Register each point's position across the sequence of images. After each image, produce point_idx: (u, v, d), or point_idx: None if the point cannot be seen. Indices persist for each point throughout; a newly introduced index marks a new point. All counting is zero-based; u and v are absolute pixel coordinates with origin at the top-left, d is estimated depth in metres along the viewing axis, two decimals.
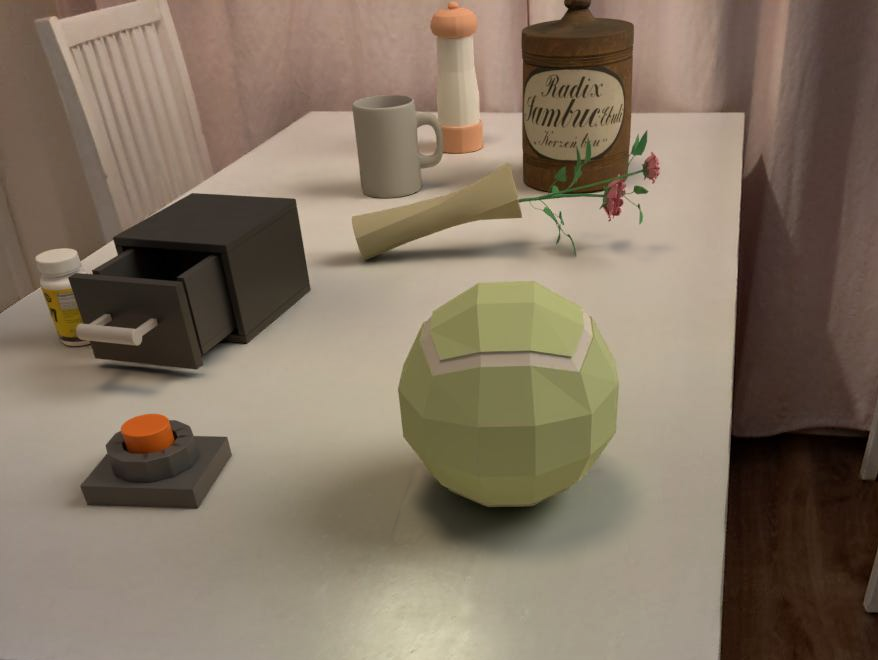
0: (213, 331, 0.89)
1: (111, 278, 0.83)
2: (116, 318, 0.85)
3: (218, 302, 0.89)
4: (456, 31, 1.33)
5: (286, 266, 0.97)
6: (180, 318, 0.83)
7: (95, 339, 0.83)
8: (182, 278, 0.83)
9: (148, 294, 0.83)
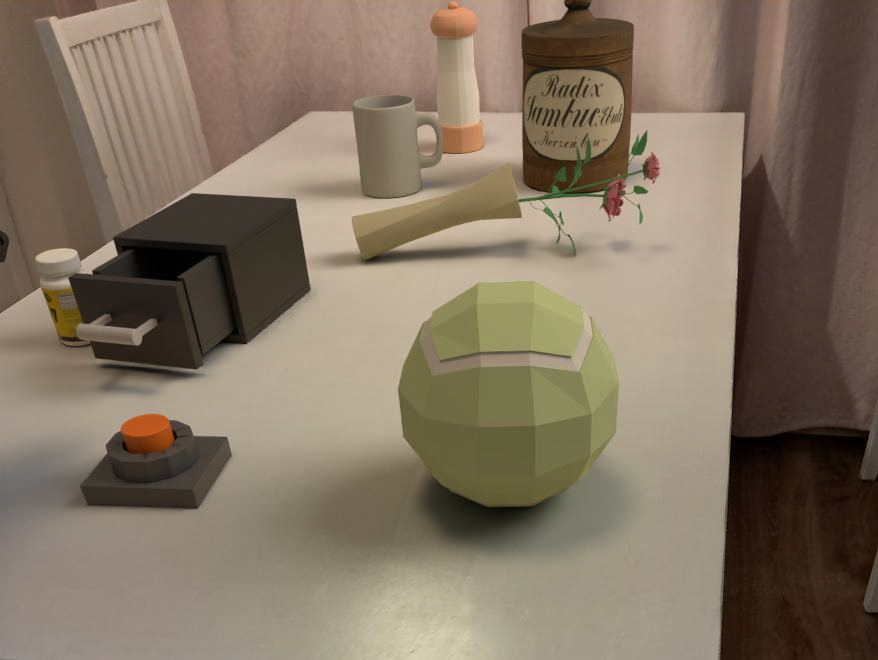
0: (213, 331, 0.89)
1: (111, 278, 0.83)
2: (116, 318, 0.85)
3: (218, 302, 0.89)
4: (456, 31, 1.33)
5: (286, 266, 0.97)
6: (180, 318, 0.83)
7: (95, 339, 0.83)
8: (182, 278, 0.83)
9: (148, 294, 0.83)
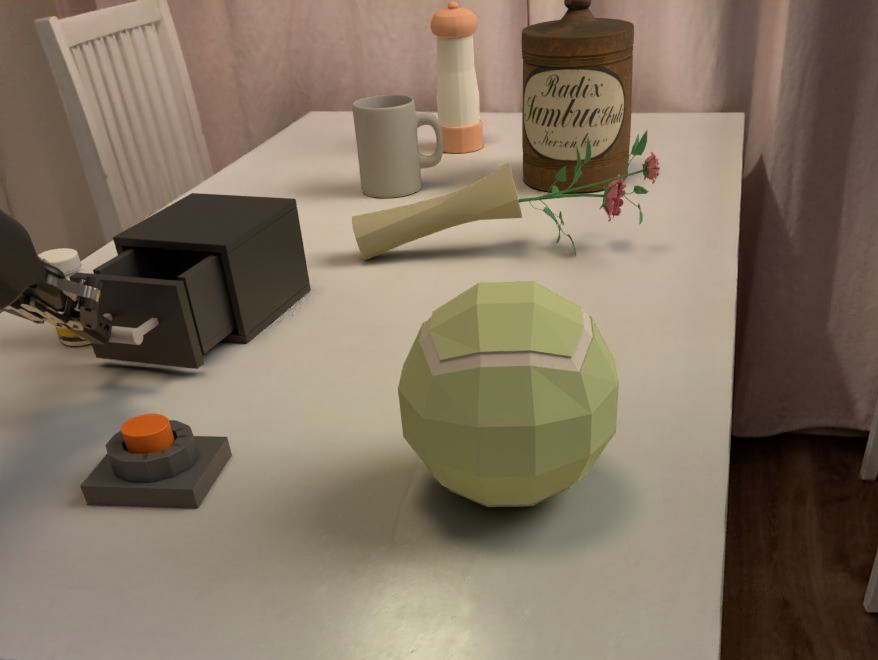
0: (214, 330, 0.89)
1: (112, 278, 0.84)
2: (117, 317, 0.86)
3: (219, 301, 0.89)
4: (456, 31, 1.33)
5: (286, 266, 0.97)
6: (181, 317, 0.83)
7: None
8: (183, 277, 0.83)
9: (149, 293, 0.83)
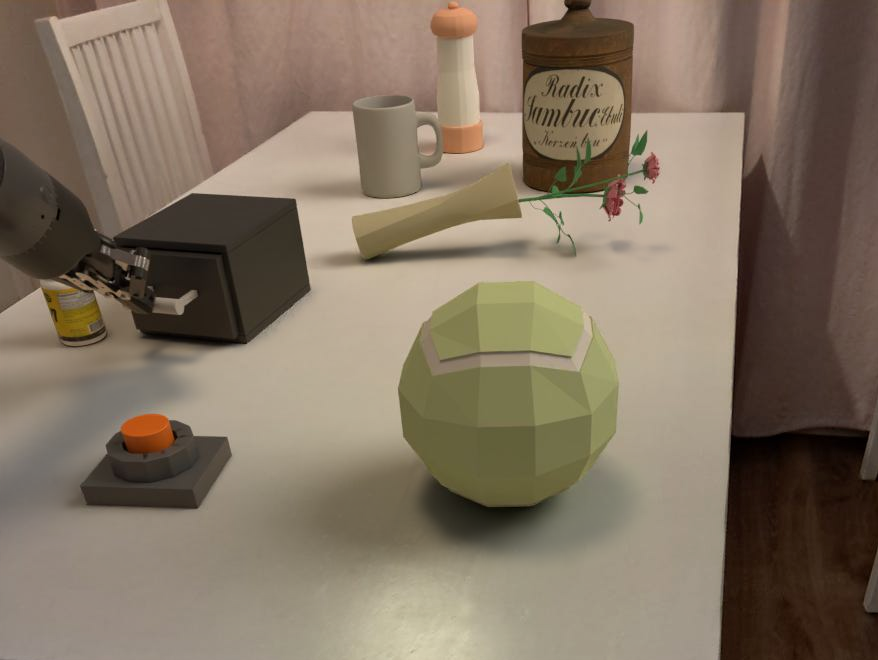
0: None
1: (154, 252, 0.88)
2: (158, 290, 0.90)
3: None
4: (456, 31, 1.33)
5: (286, 266, 0.97)
6: (219, 289, 0.88)
7: None
8: None
9: (190, 266, 0.88)
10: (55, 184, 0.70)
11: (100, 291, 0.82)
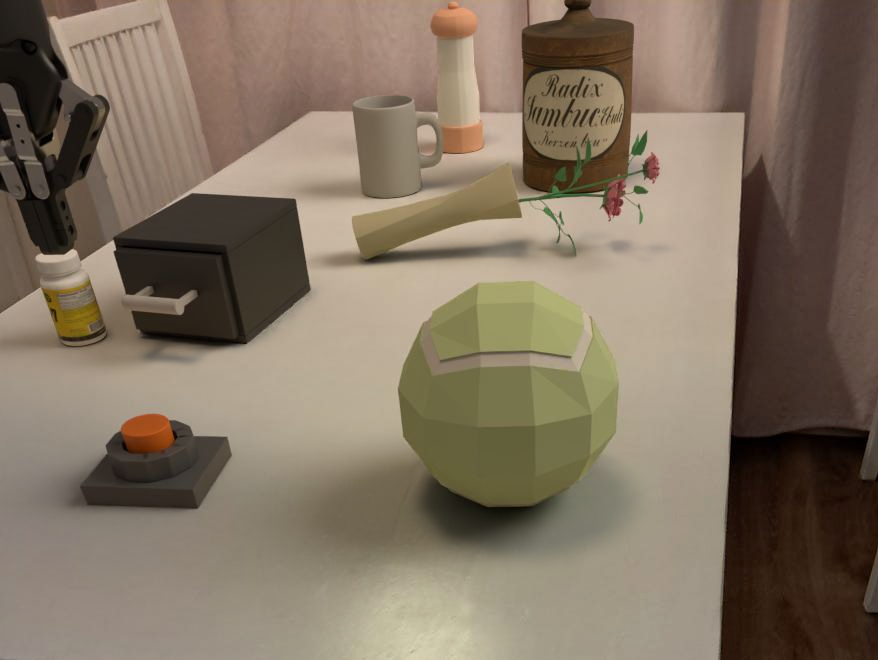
0: None
1: (154, 252, 0.88)
2: (158, 290, 0.90)
3: None
4: (456, 31, 1.33)
5: (286, 266, 0.97)
6: (219, 289, 0.88)
7: (139, 309, 0.88)
8: None
9: (190, 266, 0.88)
10: None
11: (10, 177, 0.61)
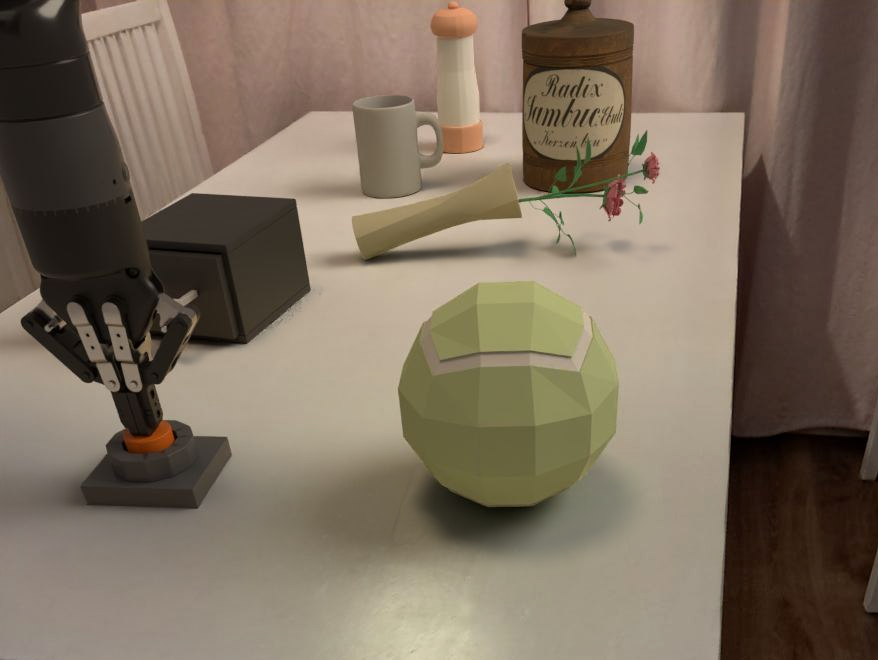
0: None
1: (154, 252, 0.88)
2: None
3: None
4: (456, 31, 1.33)
5: (286, 266, 0.97)
6: (219, 289, 0.88)
7: None
8: None
9: (190, 266, 0.88)
10: None
11: (106, 374, 0.66)
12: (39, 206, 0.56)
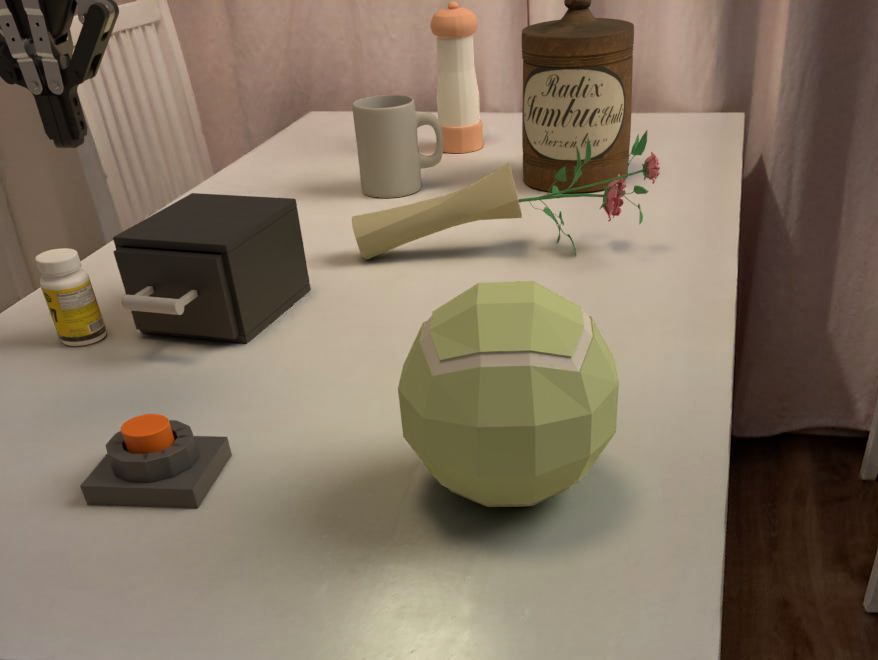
0: None
1: (154, 252, 0.88)
2: (158, 290, 0.90)
3: None
4: (456, 31, 1.33)
5: (286, 266, 0.97)
6: (219, 289, 0.88)
7: (139, 309, 0.88)
8: None
9: (190, 266, 0.88)
10: None
11: (28, 73, 0.68)
12: None
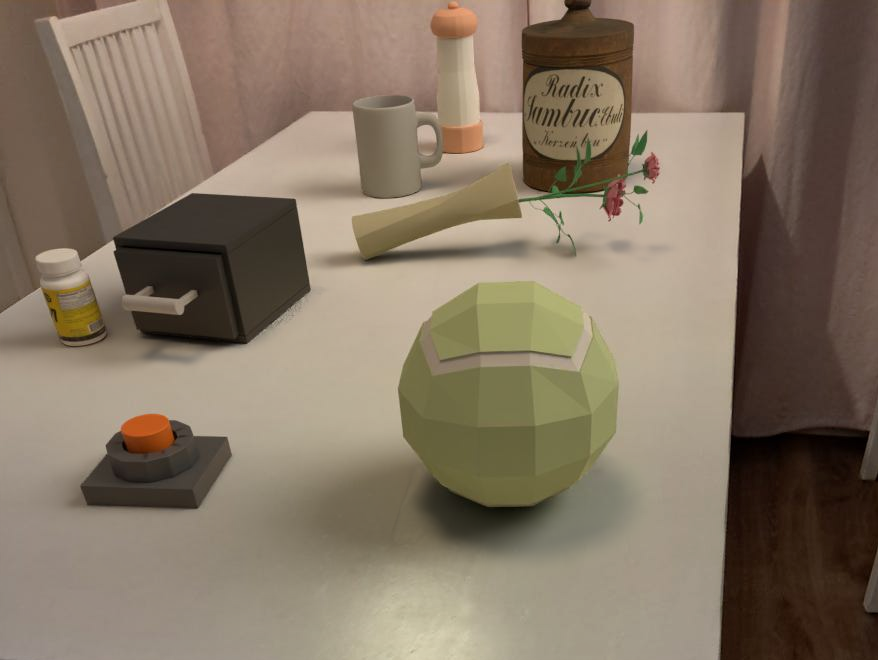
0: None
1: (154, 252, 0.88)
2: (158, 290, 0.90)
3: None
4: (456, 31, 1.33)
5: (286, 266, 0.97)
6: (219, 289, 0.88)
7: (139, 309, 0.88)
8: None
9: (190, 266, 0.88)
10: None
11: None
12: None
